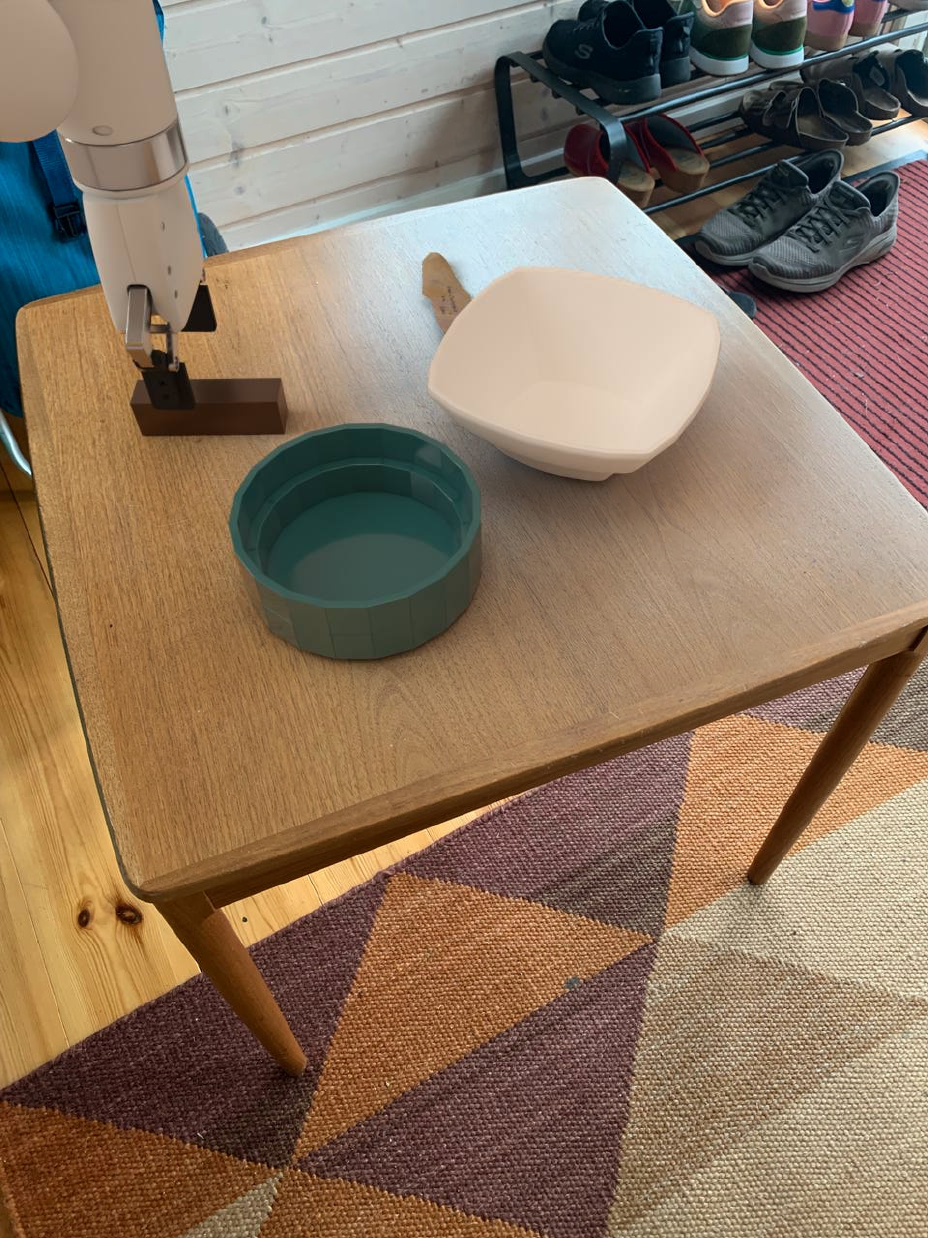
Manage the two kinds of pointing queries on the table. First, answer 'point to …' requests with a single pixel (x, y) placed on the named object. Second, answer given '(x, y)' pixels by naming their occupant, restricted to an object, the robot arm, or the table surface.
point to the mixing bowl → (358, 539)
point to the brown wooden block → (217, 409)
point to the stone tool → (443, 290)
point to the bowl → (576, 369)
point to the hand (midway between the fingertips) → (187, 367)
